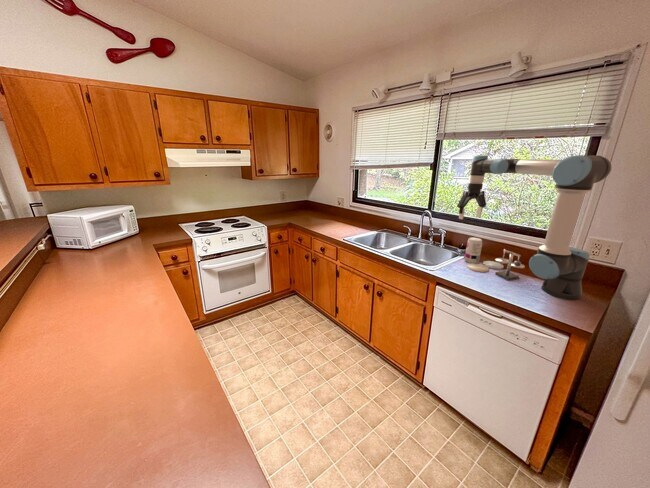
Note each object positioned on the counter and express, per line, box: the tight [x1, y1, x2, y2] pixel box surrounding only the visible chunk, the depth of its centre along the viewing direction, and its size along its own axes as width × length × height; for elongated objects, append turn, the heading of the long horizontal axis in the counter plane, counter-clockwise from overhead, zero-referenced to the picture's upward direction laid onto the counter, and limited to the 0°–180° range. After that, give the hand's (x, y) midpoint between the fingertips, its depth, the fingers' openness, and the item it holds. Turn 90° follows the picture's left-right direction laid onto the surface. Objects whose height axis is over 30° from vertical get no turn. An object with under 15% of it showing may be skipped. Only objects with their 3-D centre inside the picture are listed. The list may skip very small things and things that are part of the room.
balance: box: [494, 249, 525, 281], centre depth 147 cm, size 8×19×17 cm, turn 109°
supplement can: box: [464, 236, 483, 264], centre depth 169 cm, size 8×8×15 cm
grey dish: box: [482, 260, 504, 270], centre depth 164 cm, size 11×11×1 cm
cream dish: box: [467, 263, 490, 273], centre depth 161 cm, size 11×11×1 cm
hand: (469, 218), depth 164 cm, fingers open, 13 cm apart
